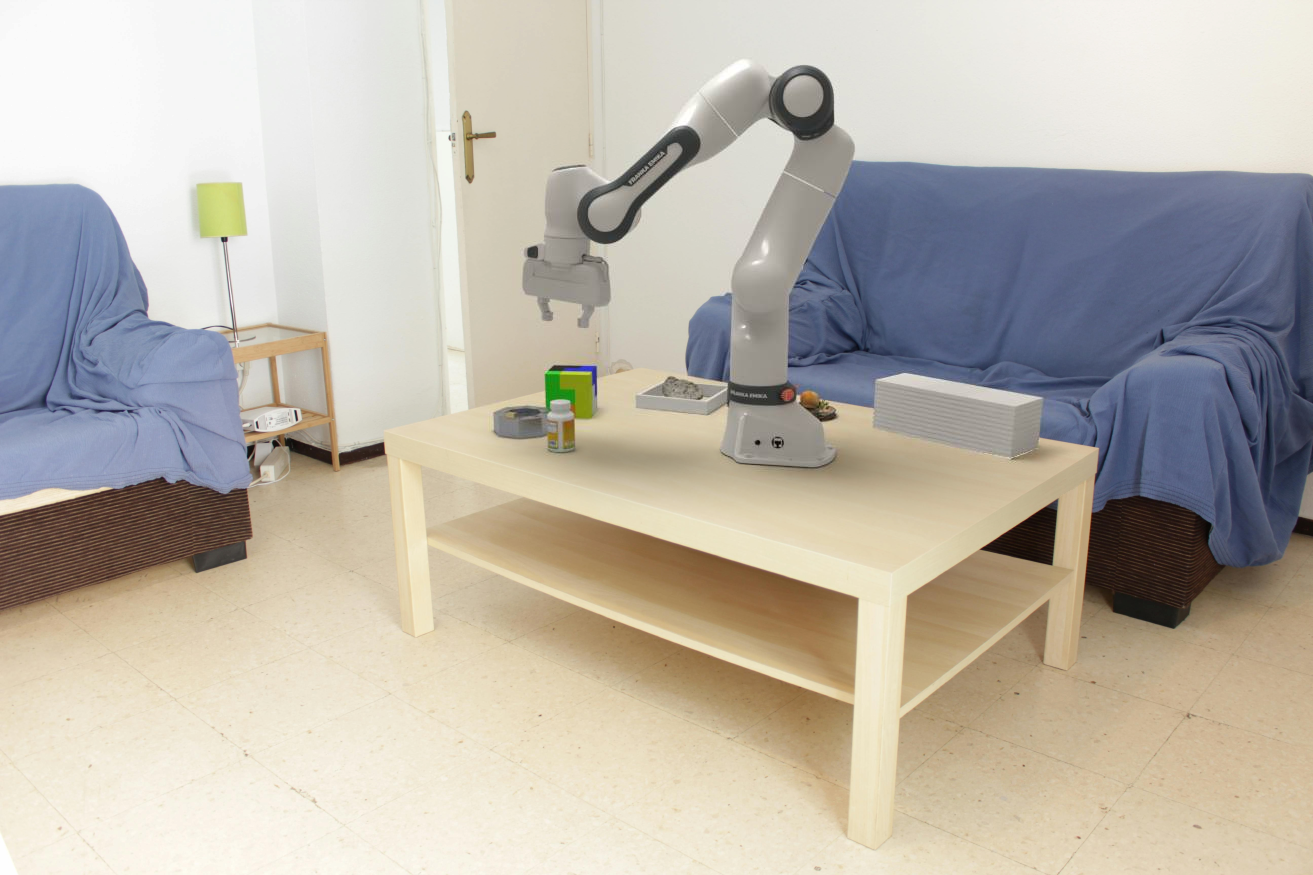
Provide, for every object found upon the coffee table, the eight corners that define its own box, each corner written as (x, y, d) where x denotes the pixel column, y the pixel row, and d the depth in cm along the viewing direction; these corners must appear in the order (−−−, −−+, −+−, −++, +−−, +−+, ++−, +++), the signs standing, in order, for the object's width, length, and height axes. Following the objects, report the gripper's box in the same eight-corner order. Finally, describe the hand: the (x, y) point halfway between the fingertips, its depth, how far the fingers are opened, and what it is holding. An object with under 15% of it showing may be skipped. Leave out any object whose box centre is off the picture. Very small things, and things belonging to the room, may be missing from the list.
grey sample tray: (732, 398, 242) (733, 386, 241) (706, 414, 226) (707, 401, 225) (665, 391, 248) (665, 379, 247) (635, 407, 233) (635, 394, 232)
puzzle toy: (597, 408, 232) (596, 365, 230) (590, 419, 223) (589, 374, 220) (554, 407, 233) (553, 365, 231) (546, 418, 224) (544, 374, 221)
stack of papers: (1037, 450, 199) (1043, 397, 196) (1010, 460, 192) (1015, 406, 190) (901, 420, 222) (904, 372, 219) (872, 428, 215) (875, 379, 212)
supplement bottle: (575, 445, 202) (574, 398, 200) (574, 452, 197) (573, 404, 194) (548, 445, 202) (547, 398, 199) (546, 453, 197) (545, 404, 194)
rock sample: (658, 392, 230) (672, 362, 234) (650, 408, 237) (664, 378, 241) (700, 413, 230) (713, 382, 235) (691, 427, 237) (704, 397, 241)
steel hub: (561, 427, 216) (560, 404, 214) (533, 440, 205) (533, 416, 204) (514, 421, 220) (513, 399, 219) (485, 434, 210) (484, 411, 209)
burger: (842, 413, 228) (844, 381, 226) (827, 425, 218) (828, 392, 216) (792, 408, 233) (793, 376, 231) (774, 419, 223) (775, 386, 221)
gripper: (619, 257, 188) (616, 330, 192) (540, 246, 200) (538, 315, 204) (597, 258, 183) (594, 333, 187) (517, 247, 195) (516, 318, 199)
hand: (564, 324), depth 196 cm, fingers open, 8 cm apart
